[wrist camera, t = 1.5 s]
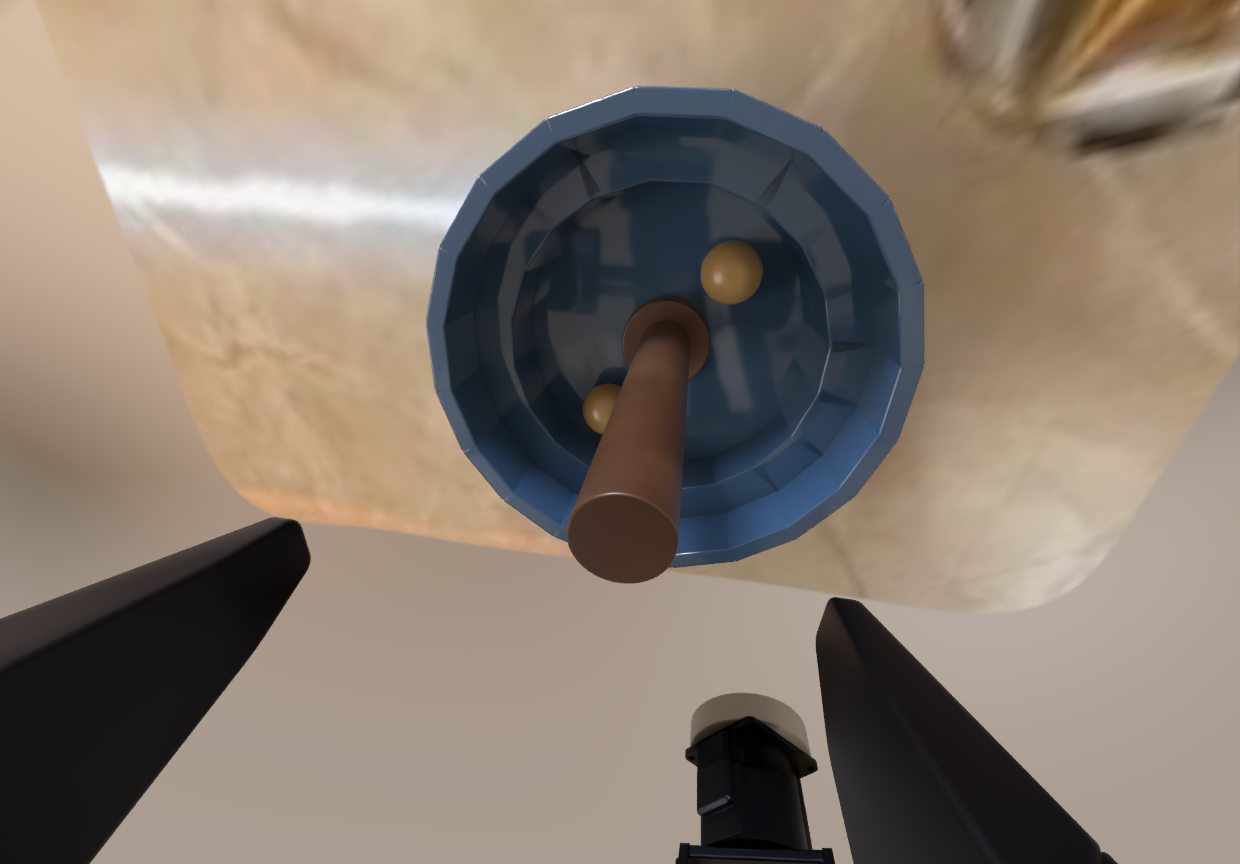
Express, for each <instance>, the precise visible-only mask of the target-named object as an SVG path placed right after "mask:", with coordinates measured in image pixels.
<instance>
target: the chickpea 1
mask: <svg viewBox="0 0 1240 864" xmlns="http://www.w3.org/2000/svg"><path fill="white" fill-rule="evenodd" d="M621 388H622V387H621V386H618V385H616V384H602V385H599V386H597V387H595V388H593V389H592V390H591V391H590V392H589V393H588V394H587V396H586V398H585V400H584V403H583V416H584V419H585V421H586V423H587V424H588V426H589V427H590V428H591V429H592V430H594V431H595V432H597V433H599V434H602V435H603V432H604V430H605V427H606V425H607V422H608V420H609V417H610V415H611V412H612V410H613V407H614V405H615V402H616V400H617V397H618V395H619V392H620V390H621Z"/></svg>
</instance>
